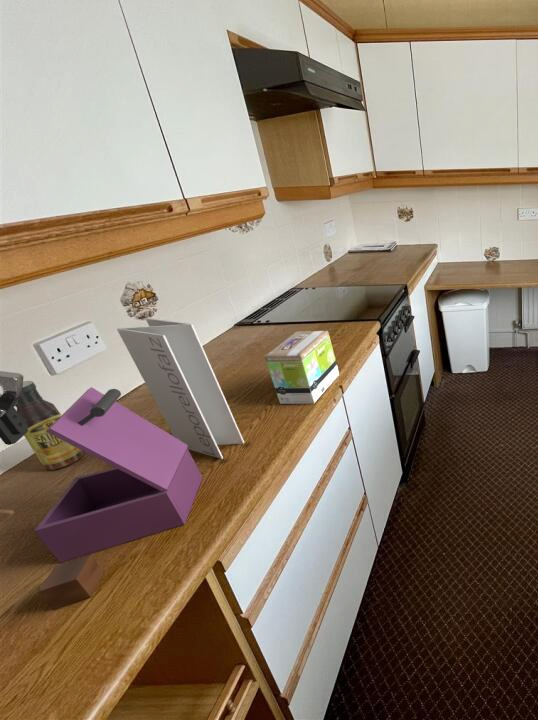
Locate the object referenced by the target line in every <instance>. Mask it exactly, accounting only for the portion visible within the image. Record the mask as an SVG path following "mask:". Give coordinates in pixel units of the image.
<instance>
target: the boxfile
mask: <svg viewBox="0 0 538 720" xmlns="http://www.w3.org/2000/svg"><path fill="white" fill-rule="evenodd" d="M202 481H203V476H202V474H201V472H200V470H199V468H198V466H197V464H196V462H195V460H194V458H193V456H192V454H191V452H190V450H189V449H186V451H185V453H184V455H183V457H182V460H181V462H180V464H179V466H178V468H177V470H176V472H175V474H174V476H173V478H172V481H171V483H170V485H169V487H168V489H167V490H166V491H165V492H162V491H160V490H158V489H156V488H154V487H152V486H150V485H148V484H146V483H144V482H142V481H140V480H138V479H137V478H135V477H133V476H131V475H129V474H127V473H125V472H123V471H121V470H119V469H117V468H115V467H111V468H107V469H103V470H99V471H96V472H92V473H88V474H84V475H80V476H77V477H74V478H73V480H72V481H71V483H70V484H69V485H68V486H67V487H66V489H65V490H64V492H63V493H62V494H61V495H60V497H59V498H58V499H57V500H56V502H55V503H54V505H53V506H52V507H51V508H50V509H49V511H48V512H47V513H46V515H45V516H44V517H43V518H42V520H41V521H40V522H39V524H38V525H36V527H35V529H34V533H35V534H36V536H37V537H39V539H40V540H41V541H42V542H43V543H44V545H45V547H47V549H48V550H49V551H50V552H51V553H52V555H53V556H54V558H56V560H58V562H59V564H62V563H66V562H69V561H72V560H75V559H78V558H82V557H85V556H88V555H92V554H94V553H98V552H101V551H104V550H106V549H110V548H114V547H116V546H120V545H123V544H125V543H130V542H133V541H136V540H139V539H143V538H146V537H149V536H152V535H156V534H159V533H162V532H165V531H168V530H172V529H174V528H178V527H182V526H184V525H186V522H187V520H188V518H189V515H190V512H191V510H192V506H193V504H194V501H195V499H196V497H197V494H198V492H199V488H200V486H201V483H202Z"/></svg>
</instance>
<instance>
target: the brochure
mask: <svg viewBox="0 0 538 720" xmlns="http://www.w3.org/2000/svg"><path fill="white" fill-rule="evenodd" d="M145 320H146V323H147V325H148V326H136V327H135V326H134V327H119V328H116V331H117V332H118V334H119V336H120V339H121V340H122V342H123V344H124V346H125V347H126V349H127V351H128V353H129V355H130V357H131V359H132V360H133V362H134V365H135V366H136V369H137V370H138V372H139V374H140V375H141V378H142V379H143V381H144V384H145V385H146V387H147V389H148V390H149V393H150V395H151V397H152V399H153V400H154V402H155V404H156V406H157V407H158V410H159V411H160V413H161V416H162V417H163V419H164V421H165V423H166V425H167V426H168V428H169V430H170V432H171V435H172V436H173V437H175V438H177V439H178V440H180V441H182V442H183V443H185V444H187V445H188V447H187V449H188V450H189V451H194V452H196V453H200V454H203V455H206V456H209V457H210V456H211V457H213V458H217V459H221V460H223V459H224V456H223V455H222V452H221V451H220V448H219V446H221V445H222V446H223V445H224V446H225V445H242V444H245V440H244V438H243V435H242V433H241V431H240V429H239V427H238V424H237V422H236V420H235V417H234V415H233V413H232V410H231V408H230V406H229V404H228V401H227V400H226V397H225V395H224V392H223V391H222V388H221V385H220V383H219V381H218V379H217V376H216V375H215V372H214V370H213V368H212V365H211V363H210V360H209V358H208V355H207V354H206V351H205V349H204V347H203V345H202V342H201V341H200V338H199V336H198V334H197V331H196V329H195V326H194V324H193V323H187V322H181V321H173V320H165V319H164V320H163V319H155V318H149V317H148V318H147V317H146V318H145Z"/></svg>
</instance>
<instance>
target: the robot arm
mask: <svg viewBox="0 0 538 720" xmlns="http://www.w3.org/2000/svg"><path fill="white" fill-rule="evenodd" d="M23 382H24V375H23V374H22V373H18V372H11V371H3V370H0V387H1V389H2V393H0V439H1V441H2V442H3V443H4V444H5V445H7V446H10V445H15V444H16V443H18V441H20V440H21V439H22V438H23V437H25V436H24V435H25V434H26V433H27V432H28V428H27V425H26V423H25V422H24V420H23V419H22V418H21V416H20V415H19V414H18V412H17V408H15V407H16V406H15V405H17V403H18V402H17V401H18V400H19V398H20V397H21V395H22V394H23V390H22V388H23Z"/></svg>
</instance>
